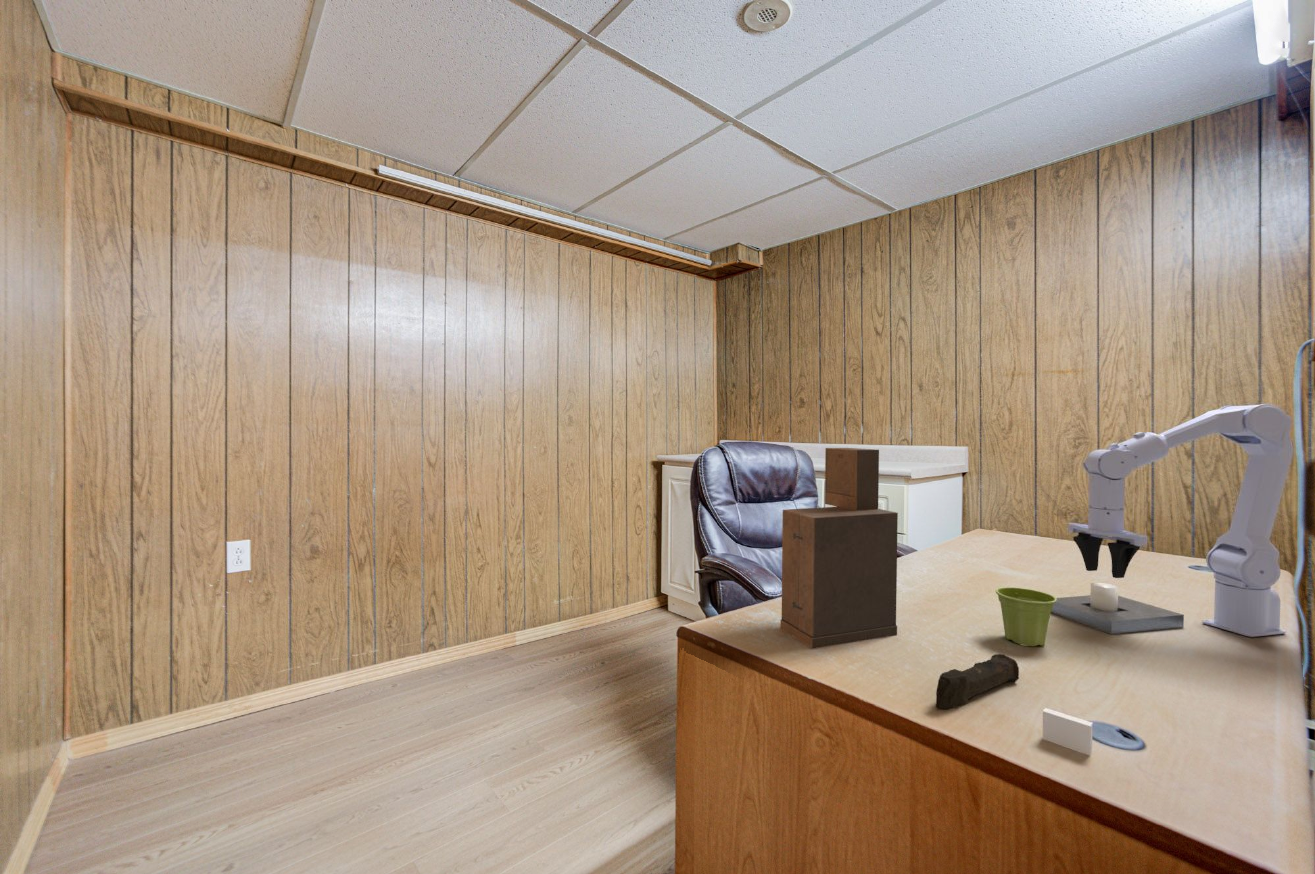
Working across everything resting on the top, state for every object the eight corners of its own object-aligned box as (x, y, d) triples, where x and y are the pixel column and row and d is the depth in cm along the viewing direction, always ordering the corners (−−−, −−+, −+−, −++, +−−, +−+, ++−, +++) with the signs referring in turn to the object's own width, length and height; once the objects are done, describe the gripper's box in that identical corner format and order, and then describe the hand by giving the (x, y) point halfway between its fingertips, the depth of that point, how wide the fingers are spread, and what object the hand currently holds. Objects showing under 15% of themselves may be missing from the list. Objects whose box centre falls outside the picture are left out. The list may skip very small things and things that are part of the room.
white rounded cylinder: (1102, 615, 116) (1103, 582, 116) (1123, 622, 112) (1124, 588, 112) (1084, 616, 115) (1085, 583, 115) (1104, 623, 111) (1105, 589, 111)
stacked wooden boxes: (847, 611, 118) (849, 447, 117) (897, 635, 104) (899, 450, 104) (769, 621, 111) (771, 448, 110) (812, 648, 98) (814, 451, 97)
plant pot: (994, 627, 108) (995, 584, 108) (1053, 637, 104) (1054, 591, 103) (995, 643, 100) (995, 596, 100) (1058, 655, 96) (1059, 605, 95)
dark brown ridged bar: (993, 674, 89) (993, 645, 88) (1020, 684, 85) (1020, 654, 85) (918, 703, 79) (918, 671, 79) (945, 716, 76) (945, 682, 76)
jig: (1111, 604, 123) (1111, 593, 123) (1183, 627, 109) (1183, 614, 109) (1045, 610, 119) (1045, 598, 119) (1111, 634, 105) (1111, 621, 105)
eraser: (1090, 756, 66) (1090, 726, 66) (1042, 739, 70) (1042, 711, 70) (1092, 752, 67) (1092, 722, 67) (1044, 736, 71) (1045, 707, 71)
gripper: (1057, 503, 119) (1056, 566, 120) (1128, 514, 105) (1126, 584, 105) (1083, 502, 121) (1082, 564, 121) (1156, 513, 107) (1154, 582, 107)
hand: (1104, 573), depth 113 cm, fingers open, 5 cm apart
